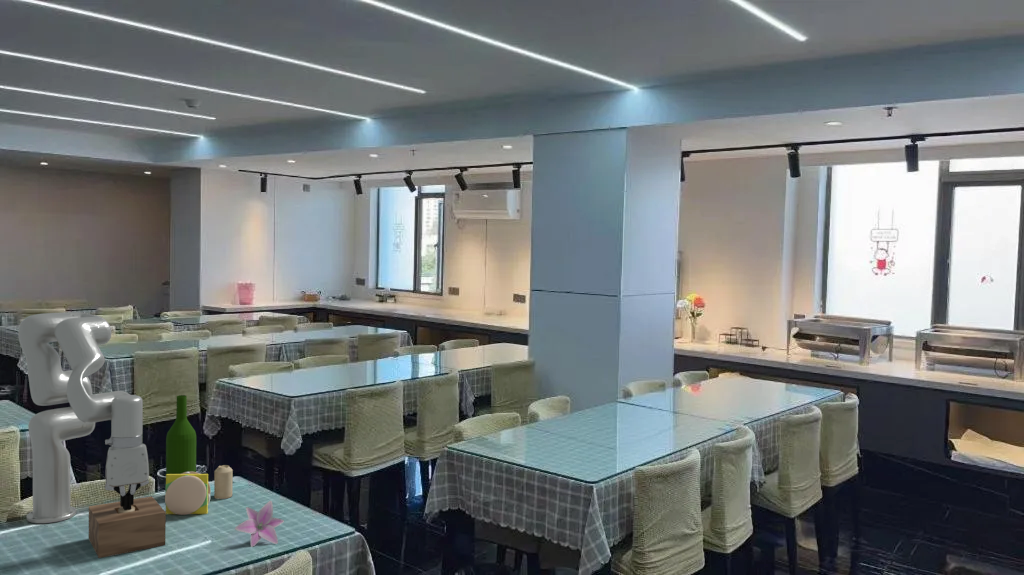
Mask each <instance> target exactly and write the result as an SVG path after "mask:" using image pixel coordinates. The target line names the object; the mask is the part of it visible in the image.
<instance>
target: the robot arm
mask: <svg viewBox="0 0 1024 575" xmlns="http://www.w3.org/2000/svg"><path fill="white" fill-rule="evenodd" d="M17 336H18V342H19V345H20V347H21V350H22V352H23V355H24V357H25V359H26V367H27V375H28V382H29V383H28V384H29V391H30V396H31V397H30V398H31V399H32V402H33V404H35V405H37V406H42V407H44V406H53V405H54V406H55V405H60V404H67V403H69V406H68V407H59V408H54V409H53V408H52V409H46V410H43V411H40V412H38V413H36V414H34V415H33V416H32V417H31V418H30V420H29V422H28V425H27V426H28V433H29V438H30V443H31V452H32V511H30V512H29V513H28V514H26V521H27V522H29V523H32V524H49V523H50V524H51V523H56V522H61V521H65V520H68V519H70V518H73V517H74V516H75V515H77V508H76V507H74V506H72V505H71V454H70V452H69V450H68V449H67V448H66V447H65V445H64V444H63V441H68V440H72V439H76V438H77V439H78V438H82V437H86V436H89V435H90V434H91V433H93V431H94V430H95V428H96V423H99V422H104V421H105V422H106V421H111V426H110V427H111V435H110V438H108V439H105V440H104V442H105V443H104V444H105V445H108V446H110V447H108V450H107V455H106V463H105V472H104V473H105V477H104V478H105V484H104V489H105V490H106V491H115V493H117V494H119V496H120V497H119V499H120V506H121V507H123V509H124V510H127V509H129V510H130V509H131V505H133V504H134V499H135V498H134V497H135V496H134V494H136V492H137V490H139V489H140V488H141V487H144V486H146V485H148V484H149V483H150V482H149V478H150V468H149V466H150V465H149V455H148V450H147V449H148V448H147V445H146V444H145V443H143V442H144V441H143V438H144V437H143V430H144V429H143V426H144V425H143V422H144V421H143V416H144V415H143V414H144V413H143V412H144V410H143V409H144V408H143V407H144V406H143V405H144V402H143V398H142V397H141V396H139V395H136V394H130V393H129V392H126V391H124V390H115V391H109V392H108V391H107V392H106V391H105V392H101V393H93V389H92V388H93V386H92V383H91V380H90V378H89V376H91V375H93V374H94V373H96V372H98V371H99V370H100V369H101V368H102V367H103V366H104V364H105V361H106V358H105V356H104V354H103V352H102V350H101V349H100V346H102V345H106V344H107V343H108V342H110V341H111V338H112V327H111V325H110V323H109V322H108V321H107V319H105V318H103V317H102V316H99V315H97V314H92V313H91V314H90V313H87V312H83V311H70V312H69V311H67V312H65V311H64V312H47V313H46V312H45V313H44V312H43V313H37V314H36V313H35V314H31V315H29V316H26V317H24V318H23V320H22V321H21V322H20V324H19V327H18V335H17ZM54 342H57V343H58V344H59V346H60V348H61V350H62V352H63V355H64V356H65V358H66V360H67V362H68V363H67V364H69V367H70V370H63V368H62V365H61V364H62V363H61V362H62V361H61V356H60V355H59V352H58V351H57V350H56V349H55V348H54V347H53V346H52V345H51V344H50V343H54ZM125 486H128V490H127V491H126V489H125Z"/></svg>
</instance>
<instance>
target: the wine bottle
mask: <svg viewBox="0 0 1024 575" xmlns="http://www.w3.org/2000/svg"><path fill="white" fill-rule="evenodd" d="M187 400H188V396H187V395H185V394H181V395H176V407H175V408H176V409H175V410H176V414H175V415H176V418H175V421H174V422H173V423H172V426H171V427H170V428H169V430H168V431H167V433H166V438H165V475H166V474H182V473H184V472H197V433H196V430H195V429H194V427H193V426H192V424H191V423H190V421H189V420H188V412H187V411H188V410H187V408H188V406H187V404H188V403H187Z"/></svg>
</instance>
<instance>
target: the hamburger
mask: <svg viewBox="0 0 1024 575" xmlns="http://www.w3.org/2000/svg"><path fill="white" fill-rule="evenodd" d="M164 486H165V487H164V488H165V489H164V490H165V492H164V493H165V495H164V503H165V504H164V505H165V512H166V515H180V516H185V515H208V513H209V505H210V500H211V491H212V490H211V484H210V483H209V474H208V473H199V472H197V471H196V472H184V473H182V474H166V473H165V485H164Z"/></svg>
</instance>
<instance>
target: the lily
mask: <svg viewBox="0 0 1024 575" xmlns="http://www.w3.org/2000/svg"><path fill="white" fill-rule="evenodd" d="M245 509H246V510H245V511H246V514H247V518H248V519H246V520H244V521H243V522H241V523H239V524H238V525H236V526H235V527H234V530H235V531H237V532H240V533H244V534H245V533H246V534H250V547H251V548H253V547H255V546H256V545H257V544H258V543H259V542H260V540H261V539H263V540H266V541H268V542H270V543H271V544H275V545H277V544H278V543H279V540H278V534H277V531H276V529H275V528H277V527H279V526H280V525H282V524H283V523H284V522H285V520H284V519H282V518H278V517H273V516H274V505H273V501H272V500H269V501H267V503H265V504H264V505H263V506H262V507H261V508H260V509H259V511H257V510H255V509H253V508H251V507H245Z"/></svg>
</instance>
